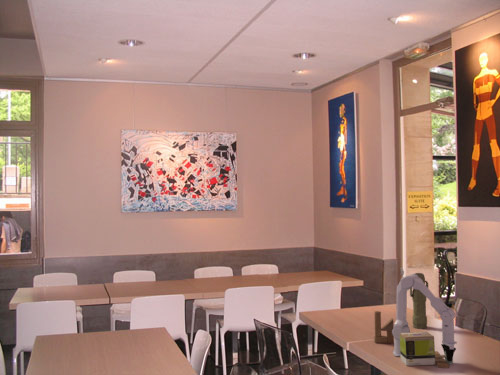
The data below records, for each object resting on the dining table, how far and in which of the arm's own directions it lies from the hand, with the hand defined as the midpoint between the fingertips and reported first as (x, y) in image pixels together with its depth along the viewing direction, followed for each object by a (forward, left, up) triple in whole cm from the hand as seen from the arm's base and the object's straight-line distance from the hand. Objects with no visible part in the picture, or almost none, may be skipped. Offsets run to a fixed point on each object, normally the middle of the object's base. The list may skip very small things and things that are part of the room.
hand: (448, 359), depth 283 cm
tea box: (0, -16, -2) cm, 16 cm away
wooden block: (-39, -27, -2) cm, 48 cm away
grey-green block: (0, -2, -2) cm, 3 cm away
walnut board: (-4, -4, -2) cm, 6 cm away
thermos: (-78, +1, -2) cm, 78 cm away
